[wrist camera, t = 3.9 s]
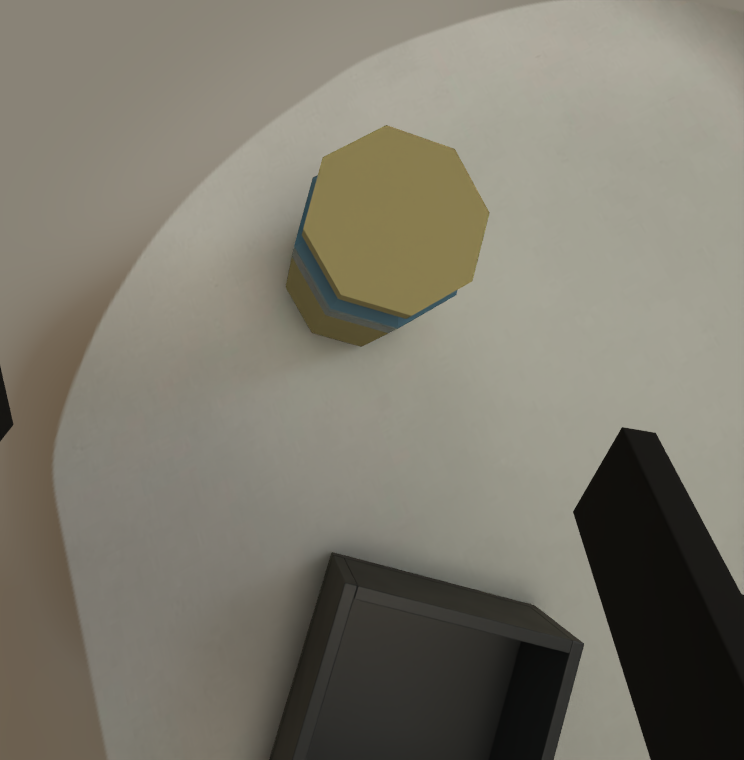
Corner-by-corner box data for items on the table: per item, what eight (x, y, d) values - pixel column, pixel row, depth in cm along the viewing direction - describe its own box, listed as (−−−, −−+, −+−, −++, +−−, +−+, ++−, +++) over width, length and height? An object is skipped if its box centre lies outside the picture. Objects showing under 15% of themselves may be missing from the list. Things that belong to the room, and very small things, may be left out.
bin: (262, 780, 40) (262, 858, 33) (331, 551, 41) (344, 582, 34) (476, 822, 42) (516, 902, 36) (535, 605, 44) (584, 643, 37)
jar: (276, 222, 41) (283, 125, 26) (405, 212, 43) (481, 114, 28) (294, 355, 41) (311, 332, 26) (422, 339, 42) (507, 310, 28)
